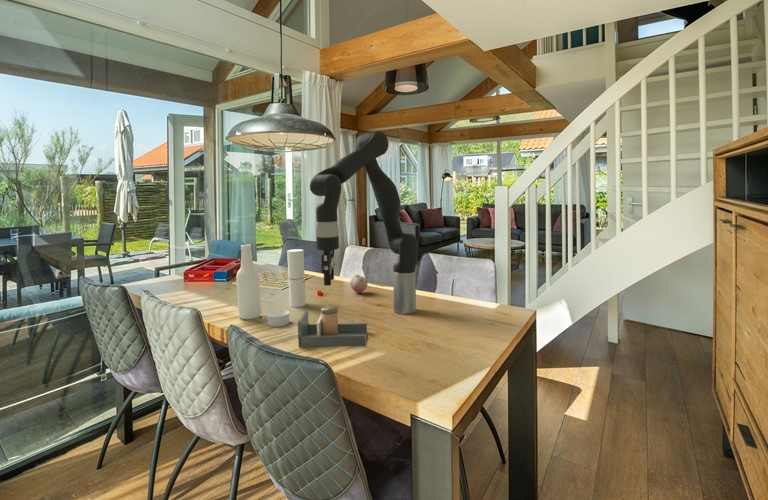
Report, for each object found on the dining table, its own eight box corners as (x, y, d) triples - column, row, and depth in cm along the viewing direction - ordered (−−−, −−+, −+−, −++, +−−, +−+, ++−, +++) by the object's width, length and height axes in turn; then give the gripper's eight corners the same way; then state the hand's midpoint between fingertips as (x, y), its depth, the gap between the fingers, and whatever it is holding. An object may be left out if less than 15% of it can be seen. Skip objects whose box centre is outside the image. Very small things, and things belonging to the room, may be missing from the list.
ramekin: (271, 329, 149) (271, 318, 149) (263, 323, 157) (262, 312, 156) (293, 324, 155) (293, 313, 154) (285, 318, 162) (284, 308, 161)
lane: (366, 332, 144) (366, 309, 143) (365, 346, 131) (364, 321, 130) (306, 333, 144) (305, 310, 143) (298, 347, 131) (297, 322, 130)
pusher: (324, 332, 143) (323, 313, 142) (319, 343, 133) (319, 323, 132) (322, 332, 143) (321, 313, 142) (317, 343, 133) (316, 323, 132)
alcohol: (266, 315, 166) (261, 244, 161) (248, 321, 158) (243, 246, 154) (252, 312, 171) (248, 242, 166) (234, 317, 163) (229, 245, 159)
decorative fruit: (371, 294, 198) (370, 274, 197) (356, 296, 194) (355, 276, 193) (362, 290, 206) (362, 271, 205) (348, 292, 202) (347, 273, 201)
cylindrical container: (286, 304, 181) (284, 250, 178) (300, 301, 186) (297, 248, 183) (295, 307, 176) (292, 252, 173) (308, 304, 181) (306, 250, 178)
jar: (339, 335, 141) (338, 305, 139) (337, 340, 135) (336, 310, 134) (323, 335, 140) (322, 306, 139) (320, 341, 135) (320, 310, 133)
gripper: (336, 237, 126) (338, 287, 129) (340, 232, 140) (342, 277, 143) (312, 237, 126) (314, 287, 128) (319, 233, 140) (321, 278, 143)
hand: (329, 282), depth 136 cm, fingers open, 8 cm apart
